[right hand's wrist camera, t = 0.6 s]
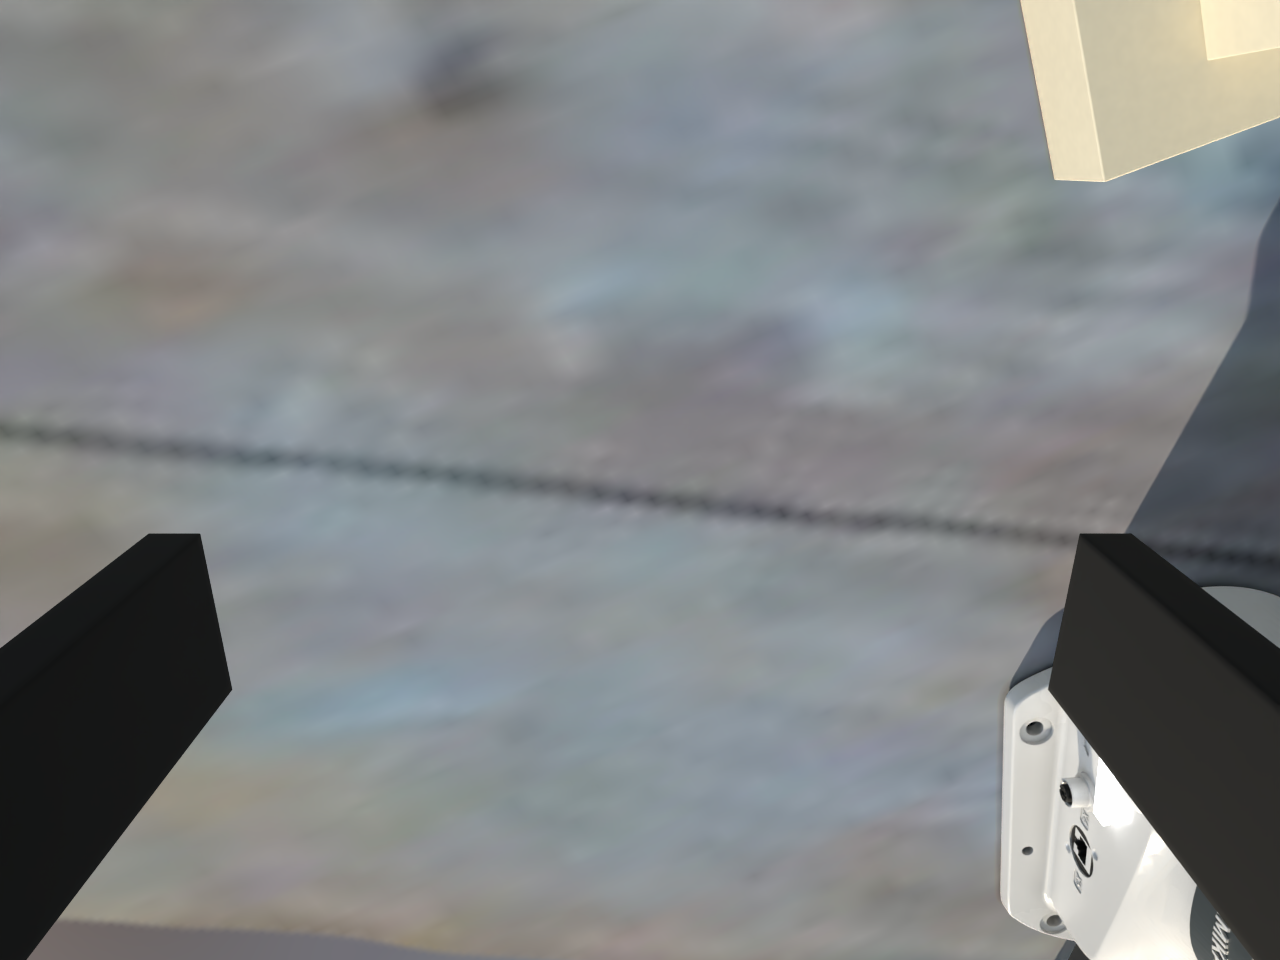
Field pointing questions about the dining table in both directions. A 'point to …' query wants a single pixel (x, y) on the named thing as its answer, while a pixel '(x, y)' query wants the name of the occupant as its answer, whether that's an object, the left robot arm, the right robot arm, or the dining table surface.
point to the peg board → (1149, 78)
